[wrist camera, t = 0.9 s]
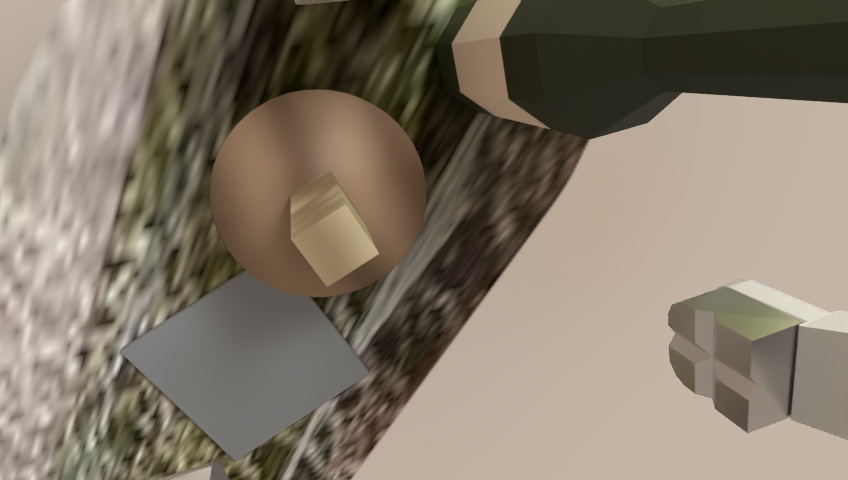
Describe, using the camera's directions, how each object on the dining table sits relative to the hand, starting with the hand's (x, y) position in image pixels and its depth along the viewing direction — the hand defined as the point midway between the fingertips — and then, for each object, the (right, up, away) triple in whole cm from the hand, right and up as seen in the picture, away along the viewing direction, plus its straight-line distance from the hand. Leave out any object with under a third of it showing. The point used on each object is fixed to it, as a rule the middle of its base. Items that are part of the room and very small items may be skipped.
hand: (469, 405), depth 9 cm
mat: (-15, -7, +33) cm, 37 cm away
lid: (-7, +6, +24) cm, 26 cm away
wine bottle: (+4, +17, +30) cm, 35 cm away
